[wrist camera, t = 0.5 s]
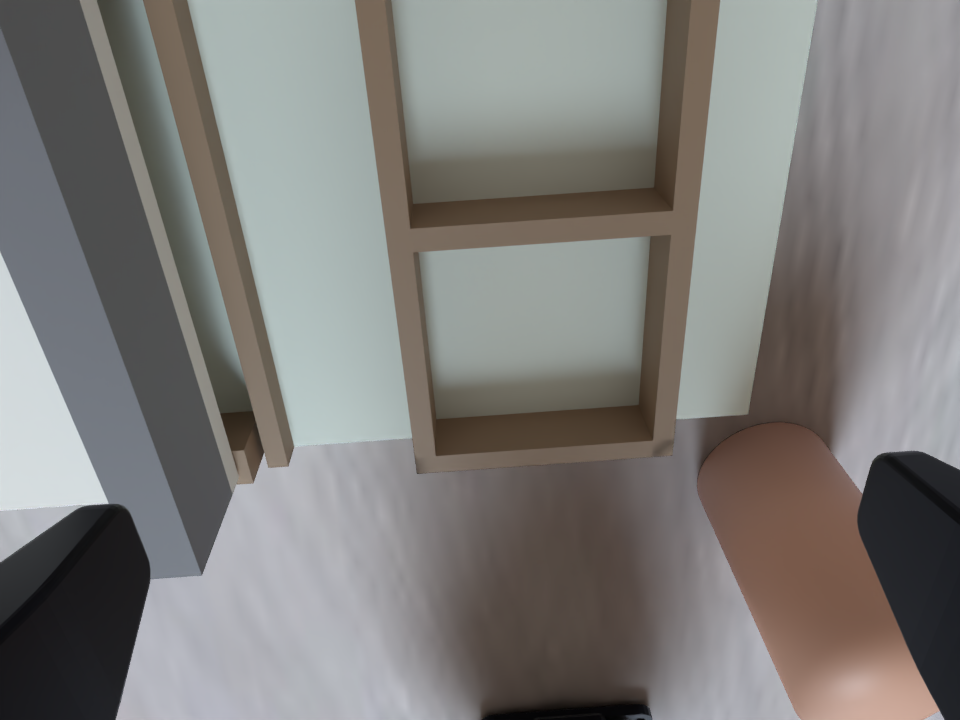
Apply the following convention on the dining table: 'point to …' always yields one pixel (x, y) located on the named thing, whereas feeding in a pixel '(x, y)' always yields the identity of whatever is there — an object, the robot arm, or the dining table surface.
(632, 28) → the board
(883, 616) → the tan brown cylinder
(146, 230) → the lid
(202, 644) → the dining table surface
